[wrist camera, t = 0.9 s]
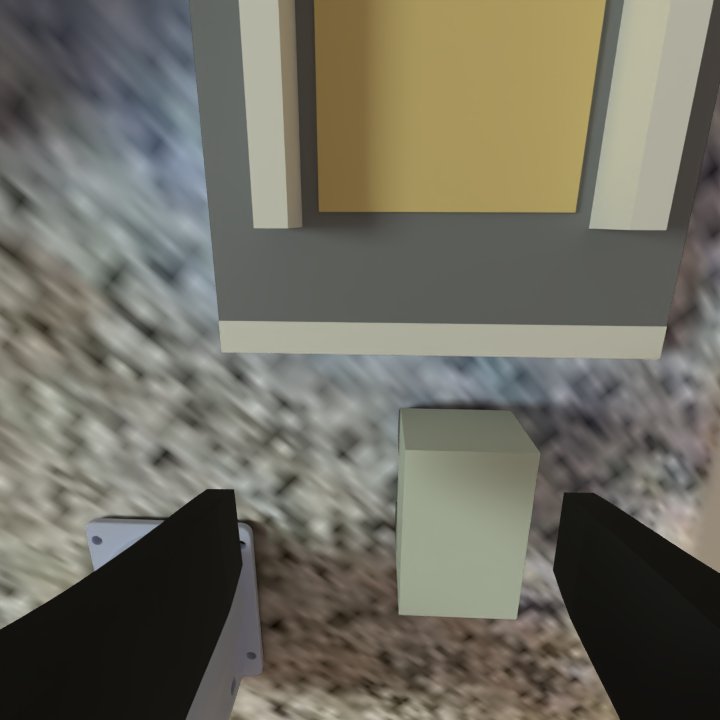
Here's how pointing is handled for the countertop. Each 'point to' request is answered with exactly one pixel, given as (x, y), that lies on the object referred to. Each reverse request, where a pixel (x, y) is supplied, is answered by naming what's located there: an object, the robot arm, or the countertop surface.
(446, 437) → the upright pale green block
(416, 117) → the dock
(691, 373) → the countertop surface
